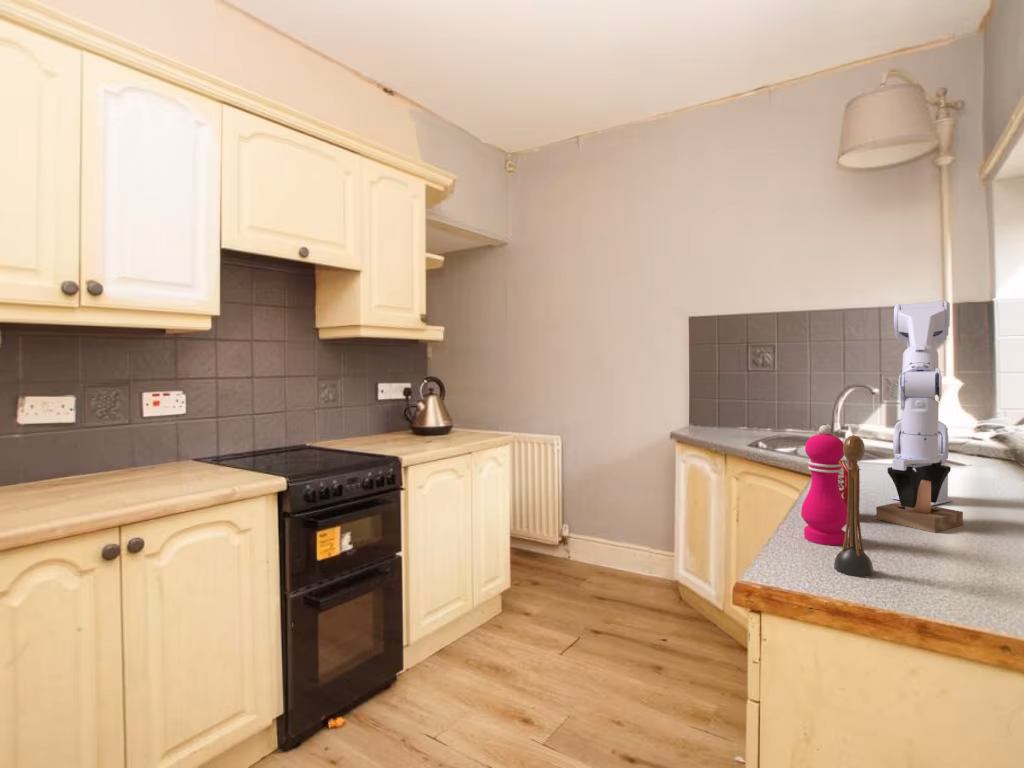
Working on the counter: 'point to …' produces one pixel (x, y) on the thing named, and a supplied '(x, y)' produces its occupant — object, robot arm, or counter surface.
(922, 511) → the peg
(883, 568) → the counter surface
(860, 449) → the wooden tabletop sculpture
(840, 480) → the soda can
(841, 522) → the pepper mill
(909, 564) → the counter surface
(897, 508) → the socket block
